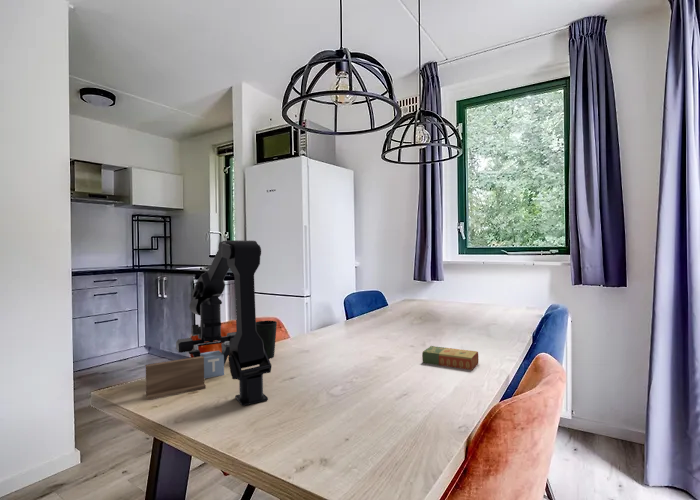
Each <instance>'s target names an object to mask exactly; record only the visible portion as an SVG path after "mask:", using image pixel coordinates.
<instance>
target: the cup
mask: <svg viewBox="0 0 700 500" xmlns="http://www.w3.org/2000/svg"><path fill="white" fill-rule="evenodd" d="M277 323H278V322H277V321H276V320H261V321H256V332H257V333H258V335H259V336H260V337H261V339H262V340H263V345H264V349H265V351H266V354H267V356H268V358H269V360H270V358H271V359H273V358H274V357H275V351H276V350H275V349H276V340H277V339H276V337H277V325H278V324H277Z"/></svg>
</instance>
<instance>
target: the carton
mask: <svg viewBox="0 0 700 500" xmlns="http://www.w3.org/2000/svg"><path fill="white" fill-rule="evenodd" d="M421 355H422V357H421V360H422V361H421V362H422V364H423V363H424V364H429V365H430V364H431V365H436V366H437V365H438V366H443V367H450V368H456V369H463V370H467V371H468V370H469V371H473V370H474V369H475V368H476V366H477V365H478V364H479V351H476V350H469V349H458V348H449V347H442V346H434V345H430V346H428V347H427V348H425V349H424V350H422V354H421Z"/></svg>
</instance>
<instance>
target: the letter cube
mask: <svg viewBox="0 0 700 500" xmlns="http://www.w3.org/2000/svg"><path fill="white" fill-rule="evenodd" d="M200 356H203V357H204V380H205V379H211V378H216V377H219V376H224V375H225V365H224V355H223V354H222V351H220V350H214V351H213V350H212V351H206V352H200Z"/></svg>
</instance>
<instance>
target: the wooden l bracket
mask: <svg viewBox="0 0 700 500" xmlns="http://www.w3.org/2000/svg"><path fill="white" fill-rule="evenodd" d="M206 387H207V386H206V384H205V379H204V357H203V356H199V357H188V358H181V359H175V360H169V361H168V360H167V361H161V362H156V363H149V364H145V396H146V400H147V401H148V400H153V399H159V398H164V397H169V396H173V395H179V394H184V393H185V394H186V393H190V392H194V391H200V390H205V389H206Z"/></svg>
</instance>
